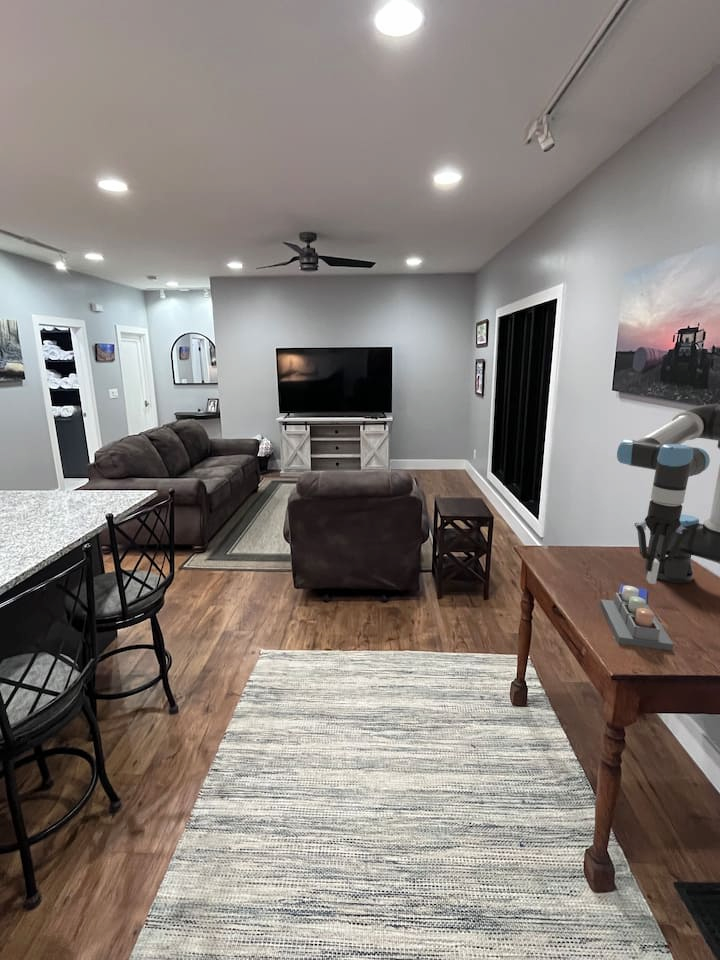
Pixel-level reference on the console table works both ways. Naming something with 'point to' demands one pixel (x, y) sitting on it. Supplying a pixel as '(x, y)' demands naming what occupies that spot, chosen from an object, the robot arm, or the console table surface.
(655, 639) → the button board
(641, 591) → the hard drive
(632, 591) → the button ivory
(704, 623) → the console table surface
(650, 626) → the button terracotta
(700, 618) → the console table surface
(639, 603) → the button sage
